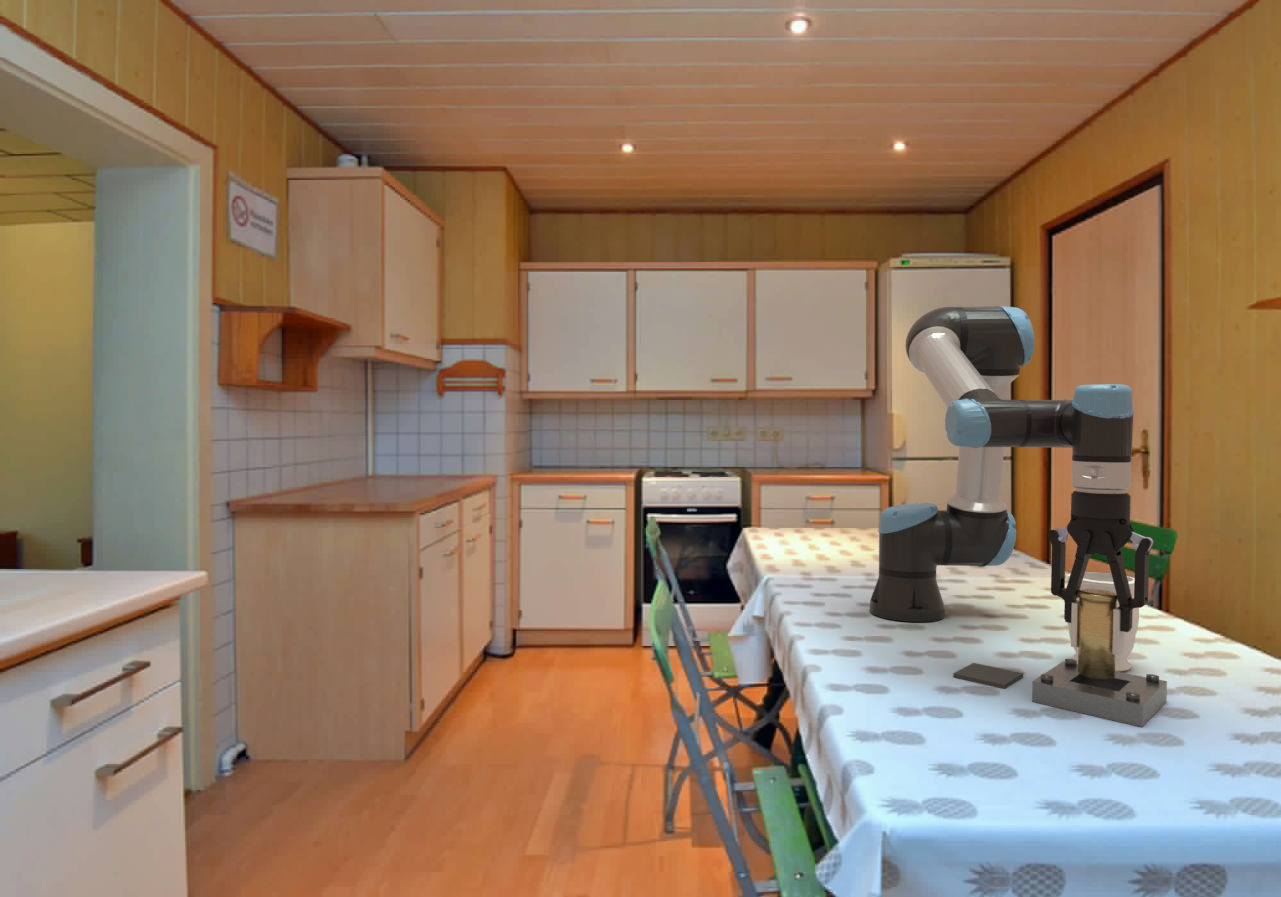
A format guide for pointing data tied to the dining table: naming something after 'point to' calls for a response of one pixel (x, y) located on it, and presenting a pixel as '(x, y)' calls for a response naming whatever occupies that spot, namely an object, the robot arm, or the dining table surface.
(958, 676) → the mat
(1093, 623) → the brass-coloured knob
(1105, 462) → the robot arm
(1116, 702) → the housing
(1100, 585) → the jar
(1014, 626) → the dining table surface
